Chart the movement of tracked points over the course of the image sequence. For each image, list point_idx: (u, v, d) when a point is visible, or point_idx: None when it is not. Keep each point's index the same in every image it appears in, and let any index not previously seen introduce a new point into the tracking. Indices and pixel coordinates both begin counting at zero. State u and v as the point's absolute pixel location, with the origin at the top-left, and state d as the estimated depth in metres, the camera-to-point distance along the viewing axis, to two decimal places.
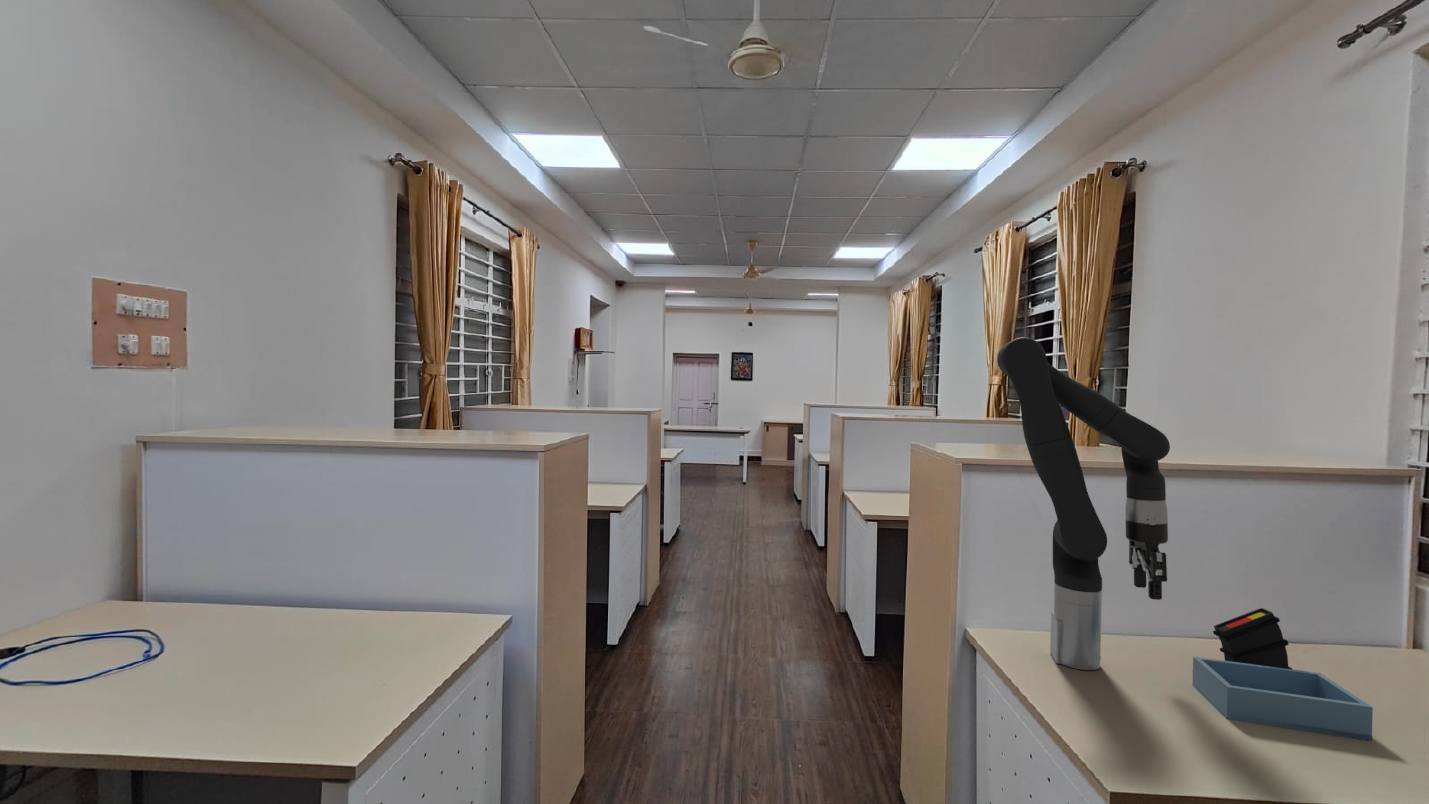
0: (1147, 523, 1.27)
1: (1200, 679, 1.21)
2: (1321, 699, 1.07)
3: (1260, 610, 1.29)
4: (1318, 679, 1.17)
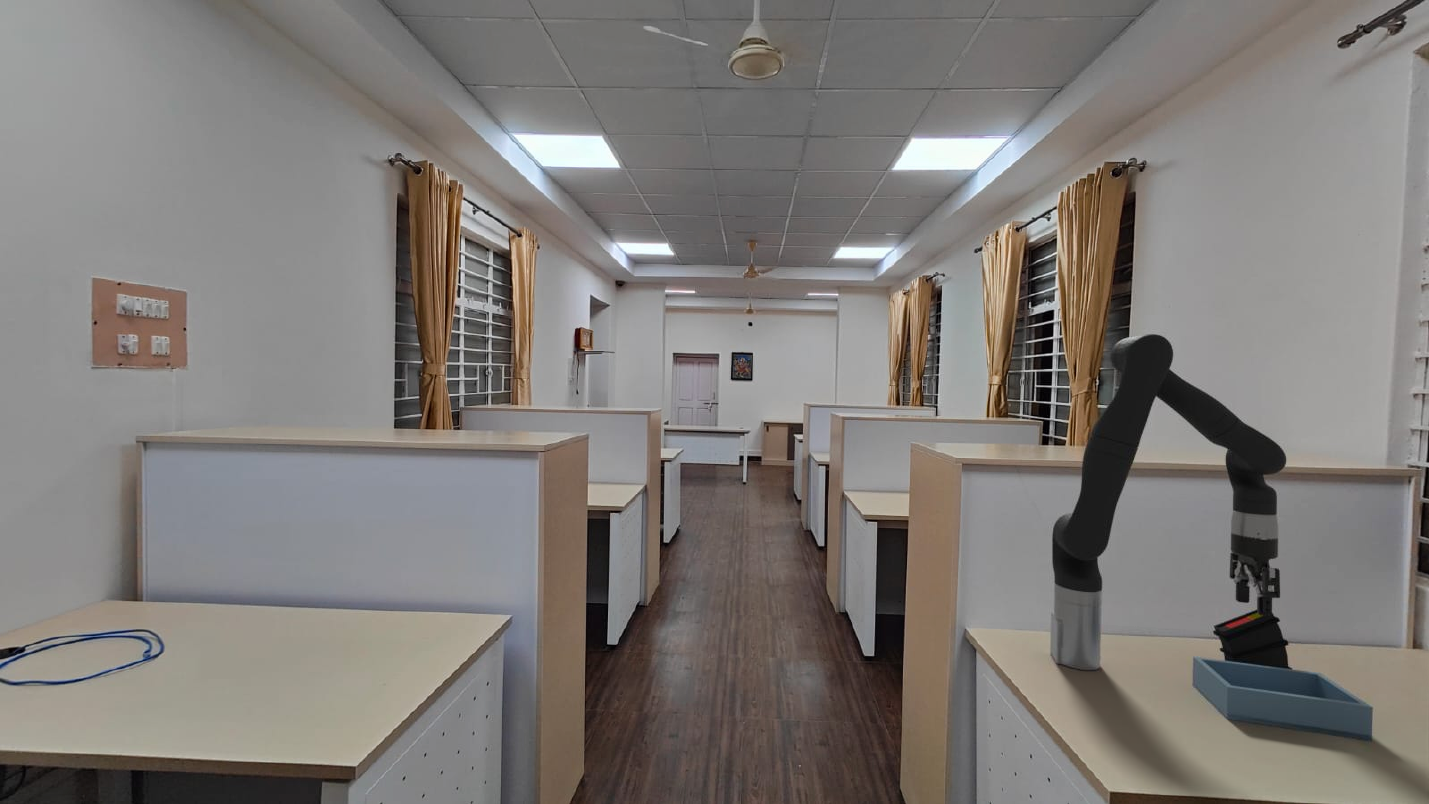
0: (1258, 538, 1.24)
1: (1200, 679, 1.21)
2: (1321, 699, 1.07)
3: None
4: (1318, 679, 1.17)
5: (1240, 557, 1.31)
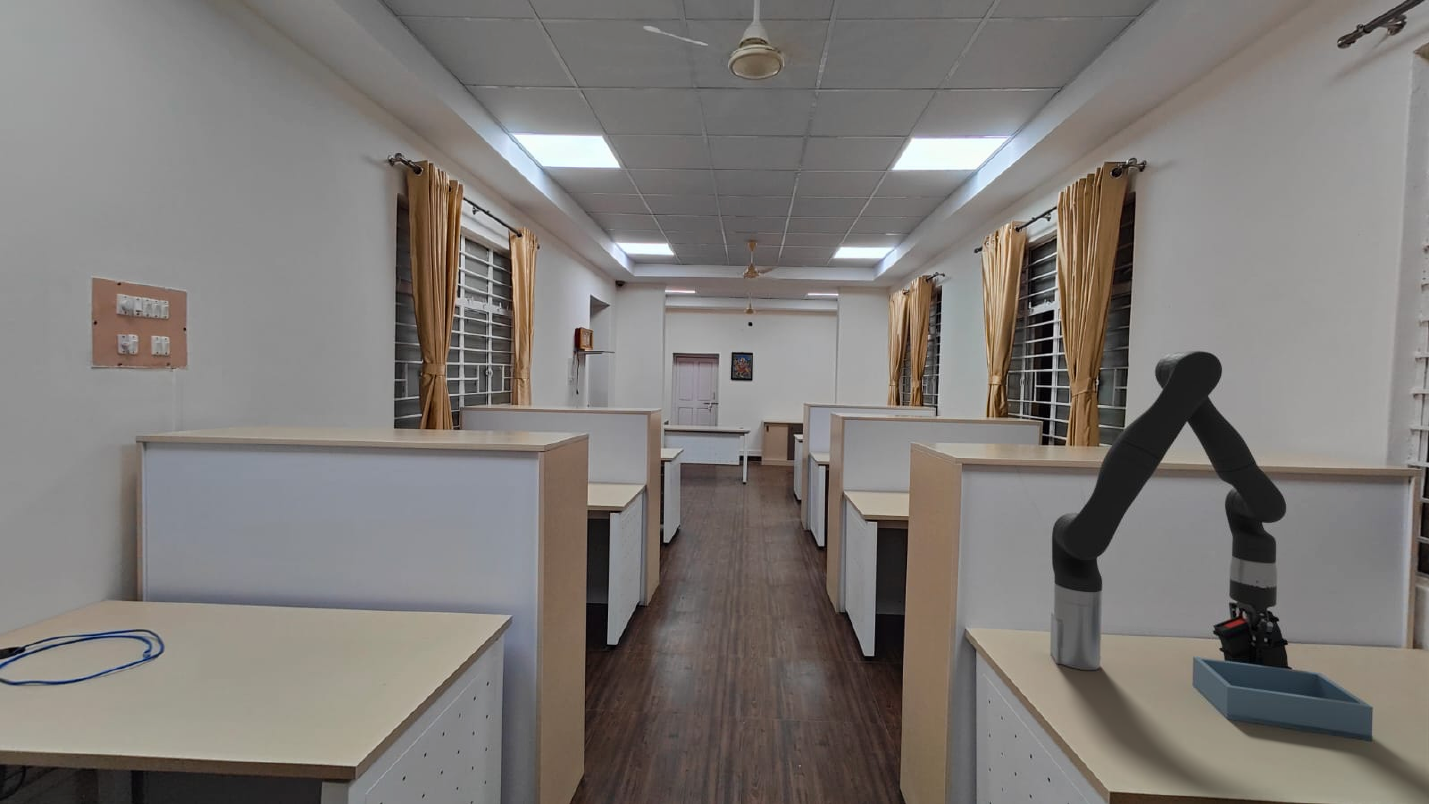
0: (1256, 585, 1.25)
1: (1200, 679, 1.21)
2: (1321, 699, 1.07)
3: None
4: (1318, 679, 1.17)
5: (1238, 602, 1.31)
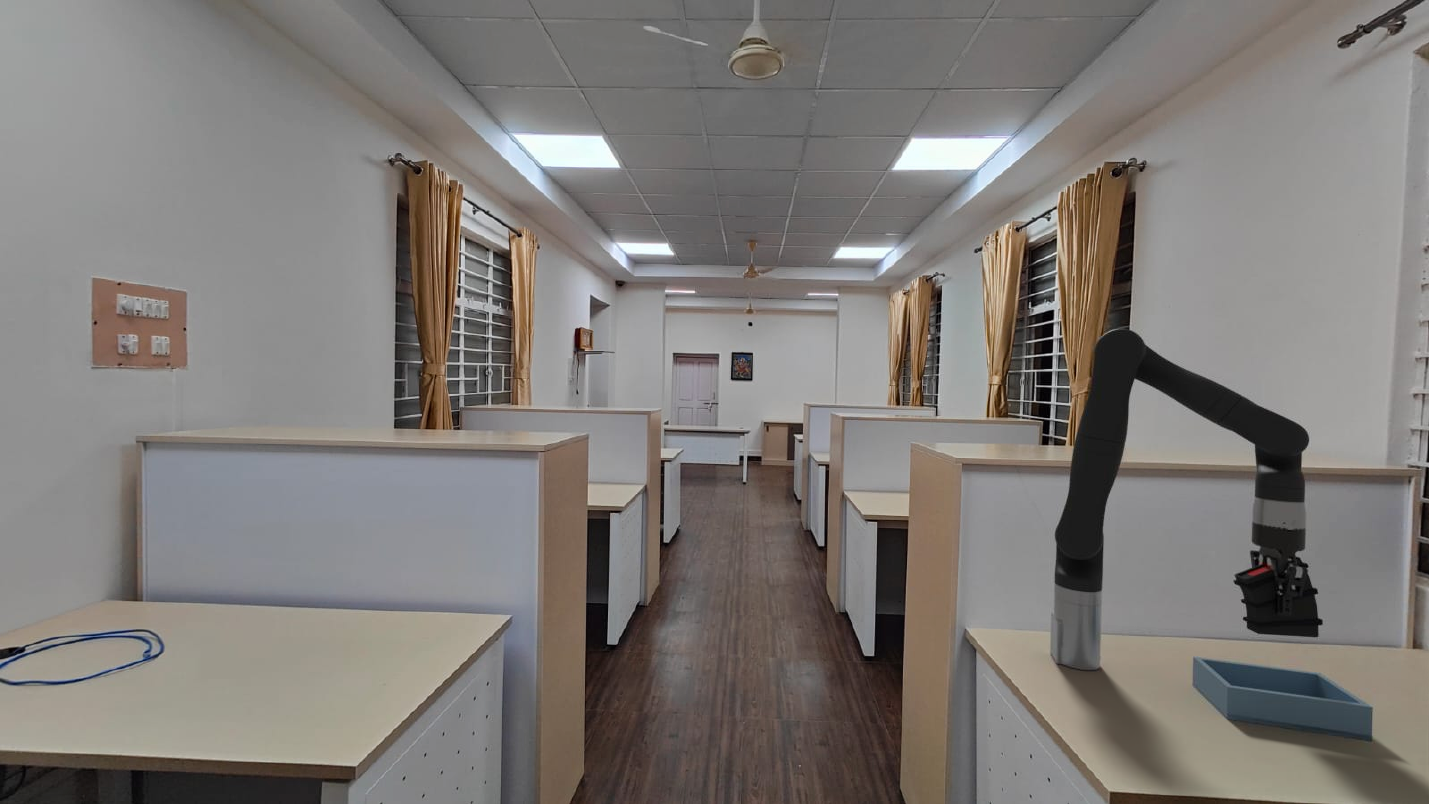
0: (1283, 527, 1.12)
1: (1200, 679, 1.21)
2: (1321, 699, 1.07)
3: None
4: (1318, 679, 1.17)
5: (1261, 549, 1.18)
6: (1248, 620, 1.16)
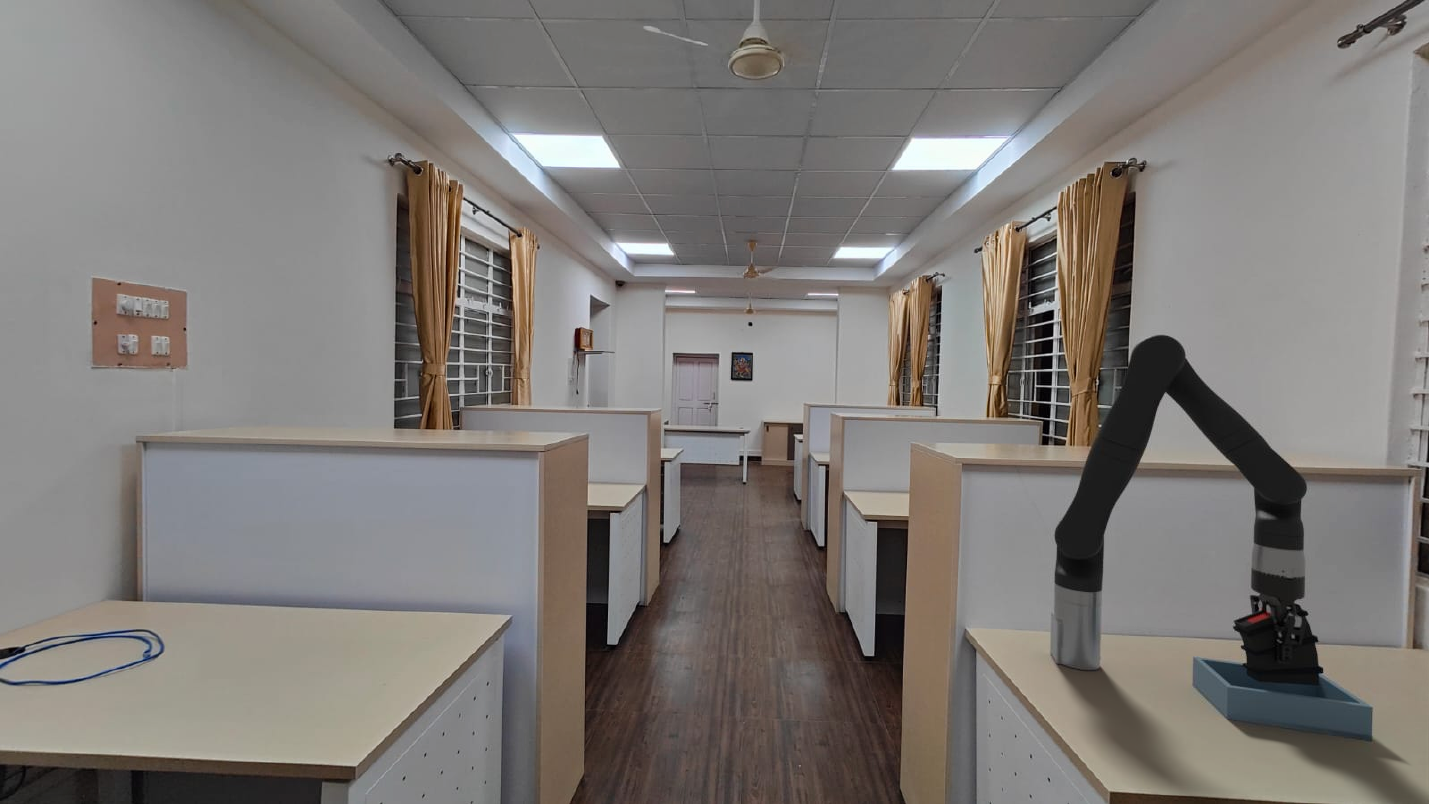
0: (1282, 575, 1.11)
1: (1200, 679, 1.21)
2: (1321, 699, 1.07)
3: None
4: None
5: (1260, 595, 1.18)
6: (1248, 667, 1.15)
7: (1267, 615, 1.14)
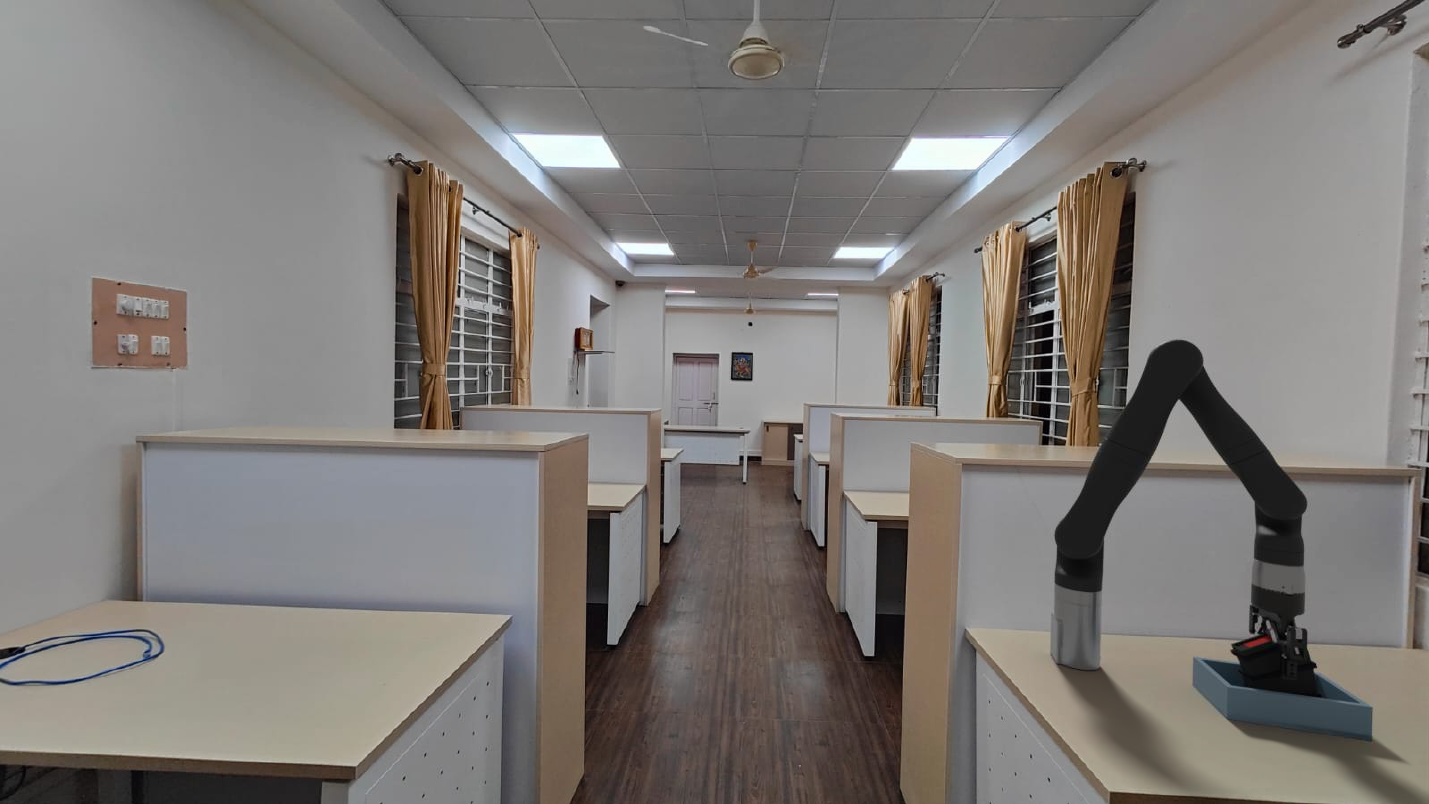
0: (1282, 591, 1.11)
1: (1200, 679, 1.21)
2: (1321, 699, 1.07)
3: None
4: (1318, 679, 1.17)
5: (1261, 610, 1.17)
6: None
7: (1265, 640, 1.15)
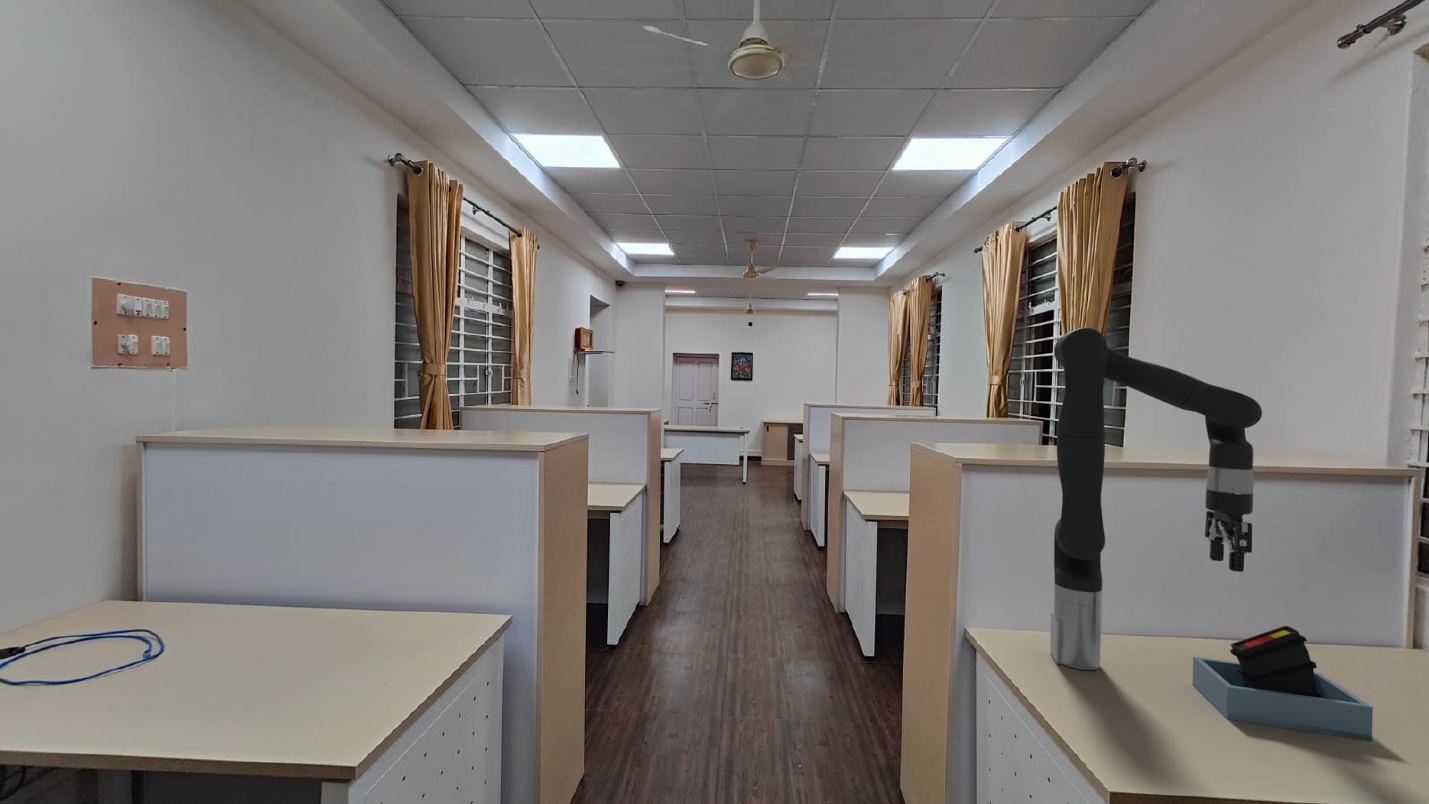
0: (1232, 492, 1.22)
1: (1200, 679, 1.21)
2: (1321, 699, 1.07)
3: (1284, 628, 1.15)
4: (1318, 679, 1.17)
5: (1215, 514, 1.28)
6: None
7: (1264, 640, 1.15)
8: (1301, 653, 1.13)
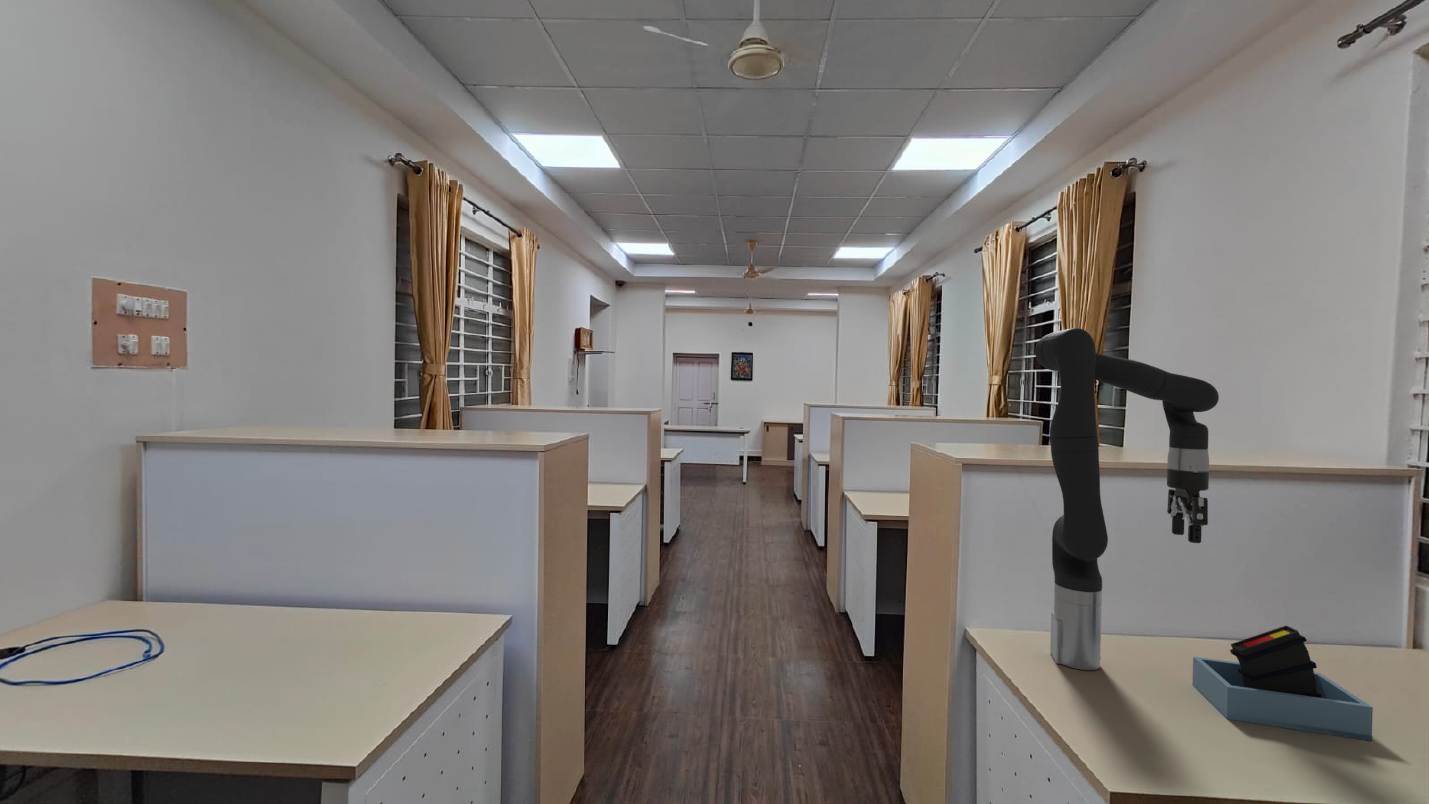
0: (1189, 470, 1.33)
1: (1200, 679, 1.21)
2: (1321, 699, 1.07)
3: (1284, 628, 1.15)
4: (1318, 679, 1.17)
5: (1176, 492, 1.39)
6: None
7: (1264, 640, 1.15)
8: (1301, 653, 1.13)
